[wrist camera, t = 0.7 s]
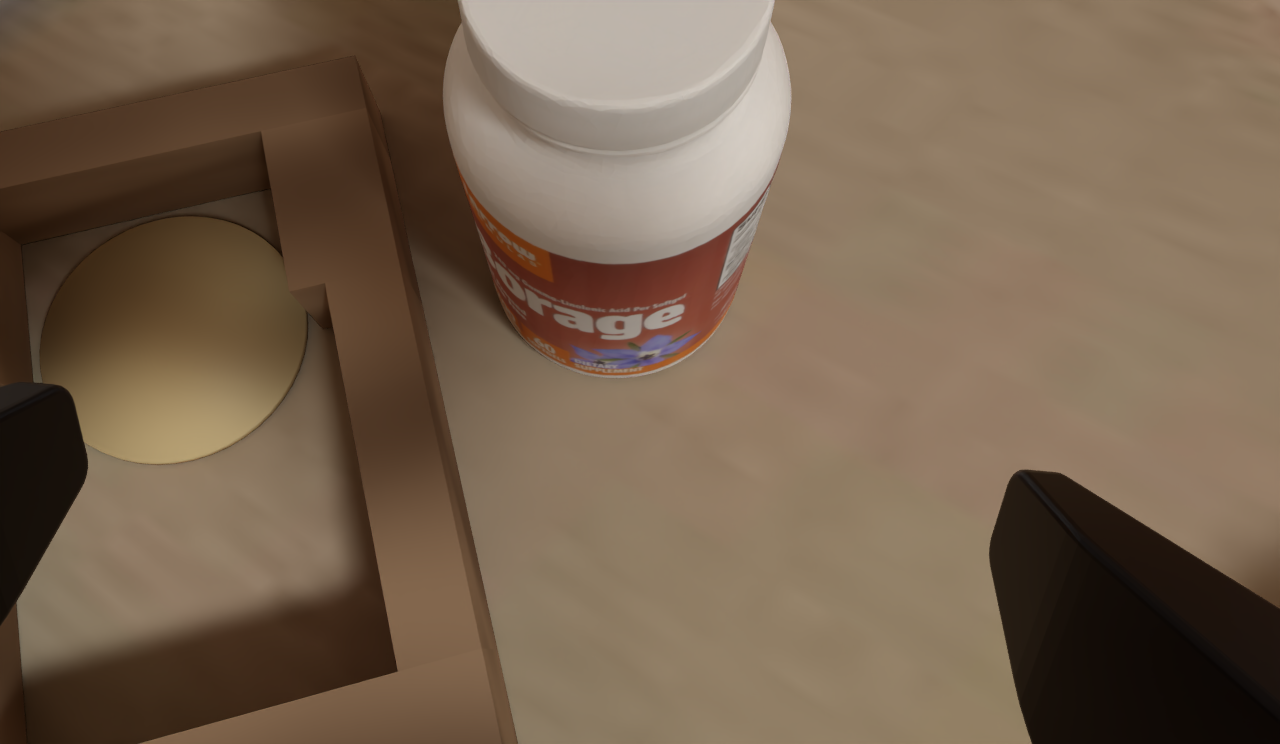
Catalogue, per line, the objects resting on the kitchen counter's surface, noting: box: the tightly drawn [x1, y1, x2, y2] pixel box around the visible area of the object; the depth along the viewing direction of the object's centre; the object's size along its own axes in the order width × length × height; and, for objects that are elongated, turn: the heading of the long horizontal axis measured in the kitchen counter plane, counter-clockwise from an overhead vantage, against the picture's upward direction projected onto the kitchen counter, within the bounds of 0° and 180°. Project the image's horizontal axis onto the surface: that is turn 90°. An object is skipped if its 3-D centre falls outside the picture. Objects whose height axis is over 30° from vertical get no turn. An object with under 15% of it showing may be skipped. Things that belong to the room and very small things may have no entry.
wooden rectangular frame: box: [0, 56, 518, 744], centre depth 21 cm, size 20×12×2 cm, turn 15°
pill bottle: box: [443, 0, 791, 378], centre depth 19 cm, size 6×6×11 cm
